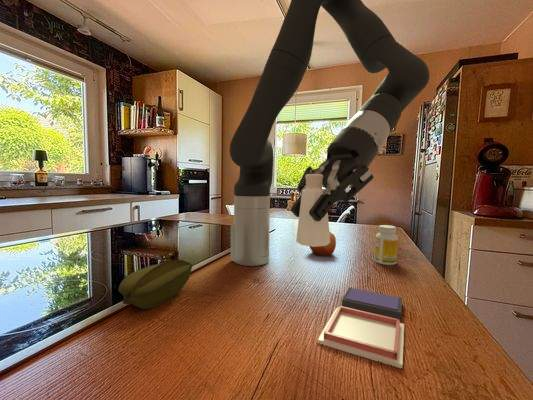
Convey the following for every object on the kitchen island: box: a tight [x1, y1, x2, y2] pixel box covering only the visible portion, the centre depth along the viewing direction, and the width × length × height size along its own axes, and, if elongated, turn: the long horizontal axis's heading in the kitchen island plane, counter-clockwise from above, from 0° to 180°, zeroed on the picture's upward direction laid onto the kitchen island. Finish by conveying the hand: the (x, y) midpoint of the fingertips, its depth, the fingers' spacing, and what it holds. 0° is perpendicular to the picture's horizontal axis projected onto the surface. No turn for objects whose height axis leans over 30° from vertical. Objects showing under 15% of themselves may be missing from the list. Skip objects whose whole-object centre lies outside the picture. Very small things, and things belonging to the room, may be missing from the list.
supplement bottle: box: [373, 224, 399, 266], centre depth 71 cm, size 5×5×10 cm
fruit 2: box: [308, 230, 337, 256], centre depth 78 cm, size 8×8×8 cm
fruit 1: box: [118, 259, 193, 310], centre depth 48 cm, size 11×12×7 cm
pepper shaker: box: [295, 174, 330, 247], centre depth 43 cm, size 5×5×11 cm
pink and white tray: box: [317, 305, 405, 369], centre depth 38 cm, size 10×10×1 cm
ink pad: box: [341, 287, 403, 321], centre depth 47 cm, size 9×6×1 cm, turn 62°
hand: (304, 215), depth 42 cm, fingers closed on pepper shaker, 4 cm apart
